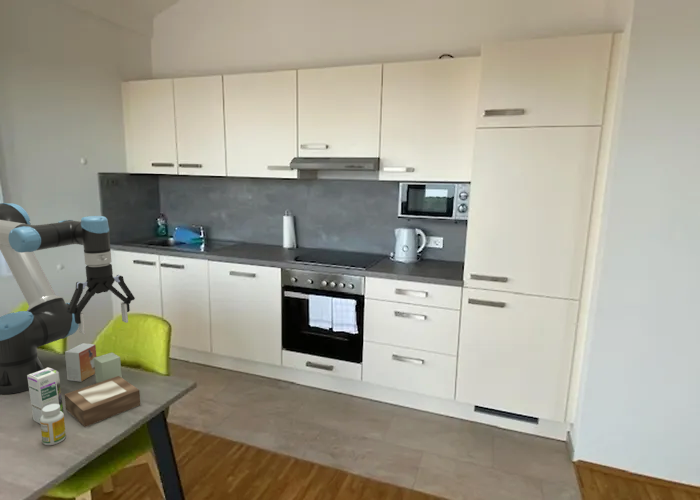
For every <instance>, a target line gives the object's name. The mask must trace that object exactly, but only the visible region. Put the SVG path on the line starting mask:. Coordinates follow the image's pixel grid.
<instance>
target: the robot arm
mask: <svg viewBox="0 0 700 500" xmlns="http://www.w3.org/2000/svg"><path fill="white" fill-rule="evenodd" d="M30 221H31V219H30V216H29V214H28V212H27V211H26V209H24V208H23V206H21V205H19V204H16V203H11V202H10V203H7V202H0V252H1V254H2V256H3V258H4V260H5V262H6V263H7V266H8V268H9V270H10V272H11V274H12V275H13V278H14V279H15V281H16V283H17V286H18V287H19V289H20V291H21V293H22V295H23V297H24V299H25V301H26V303H27V304H28V307H27V310H22V311H21V310H20V311H16V312H11V313H7V314H3V315H1V316H0V395H10V394H17V393H22V392H25V391H29V385H28V378H27V375H29V374H32V373H35V372H38V371H40V370H43V369H45V368H44V365H43V364H42V363H41V361H40V359H39V357H38V349H37V348H40V347H42V346H45V345H49V344H50V343H53V342H57V341H58V340H59V341H60V340H64V339H65V338H67V337H69V336H72V335H74V334H75V333H76V332H77V331H79V333H81V334H82V335H84V334H86V328H85V319H84V318H85V317H84V313H83V310H84V309H85V307H86V306H87V304H89V302H90V300H91V298H92V297H94V296H95V294H97V295H98V294H101V293H108V291H109V292H111V293H112V294H114V295H115V296H116V297H117V298H118V299H120V300H121V301H122V302H120V309H121V310H120V312H121V321H122V322H124V323H129V317H128V316H129V315H128V313H129V312H130V311H131V308H130V304H131V302H132V301H135V299H136V297H135V296H134V295H133V293H132V291H131V290H130V289H129V287H128V286H127V284H126V283H125V280H124V276H122V275H121V274H116V276H113V274H114V271H113V264H112V251H111V237H110V226H109V222H108V221H109V220H108V218H107V217H106V216H102V215H90V216H89V215H88V216H83V217H81V221H80V220H78V221H77V220H73V219H68V220H67V219H64V220H59V221H58V222H51V223H44V224H36V225H35V224H31V222H30ZM70 245H80V246H83V255H84V265H85V276H86V281H83V282H80V281H77V282H76V283H75V290H74V293H73V295H72V297H71V300H70V302H66V301H65V299H64V297H62V296H59V295H56V293H55V291H54V289H53V287H52V285H51V283H50V282H49V280H48V277H47V276H46V274H45V272H44V270H43V267H42V265H41V264H40V262H39V260H38V259H37V256H36V255H35V253H34V252H36V251H41V250H48V249H53V248H59V247H66V246H70ZM115 282H116V283H118V284H117V285H119V287H120V289H121V290H122V291H123V293H124V295H123V294H122V293H121V292H120V291H119V289H117V288H116V287H114V286H113V285H114V283H115ZM86 287H87V290H86V291H85V293H84V295H83V290H84V289H85V288H86ZM82 295H83V296H82ZM125 295H126V296H125ZM81 296H82V298H81Z"/></svg>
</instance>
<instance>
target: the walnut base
mask: <svg viewBox="0 0 700 500" xmlns="http://www.w3.org/2000/svg"><path fill="white" fill-rule="evenodd" d="M140 393H141V391H140V389H139V388H137V387H136V386H134V385H133V384H131V383H130V382H128V381H127V380H125V379H124V378H123V377H122V378H121V377H120V376H117V377H114V378H111V379H108V380H105V381H102V382H99V383H96V382H95V383H93V384H91V385H87V386H84V387H81V388H78V389H76V390H72V391H70V392H67V393H64V403H65V410H66V411H67V412H68V413H69V414H70V415H71V416H72V417H74V419H75V420H77V422H79V423H80V424H81V425H82V426H83V427H84V428H86V427H89V426H91V425H94V424H96V423H98V422H101V421H103V420H107V419H109V418H111V417H114V416H116V415H118V414H122V413H124V412H126V411H128V410H131V409H134V408H136V407H138V406H141V394H140Z"/></svg>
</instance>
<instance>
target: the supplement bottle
mask: <svg viewBox="0 0 700 500" xmlns="http://www.w3.org/2000/svg"><path fill="white" fill-rule="evenodd" d="M63 413H64V411H63V412H62V411H60V405H59V404H50V405H47V406H45V407H44V408H43V409H42V414H43V415H42V417H41V418H40V424H39V425H40V431H41V441H42V442H41V443H42V444H43V445H45V446H53V445H57V444H59V443H61V442H62V441H64V440H65V439H66V436H67V435H66V433H67V432H66V425H65V423H66V422H65V415H64V414H65V413H64V414H63Z"/></svg>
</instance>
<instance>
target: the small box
mask: <svg viewBox="0 0 700 500" xmlns="http://www.w3.org/2000/svg"><path fill="white" fill-rule="evenodd" d="M64 357H65V366H66V367H65V368H66V378H67V381H71V382H80V383H83V381H84V380H86V379H89V378H90V377H92V376H93V375H95V367H94V358H95V357H97V347H96V344H93V343H92V344H91V343H84V342H82V343H80V344H79V345H76V346H74V347H73V348H70V349H67V350H66V351H64Z"/></svg>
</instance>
